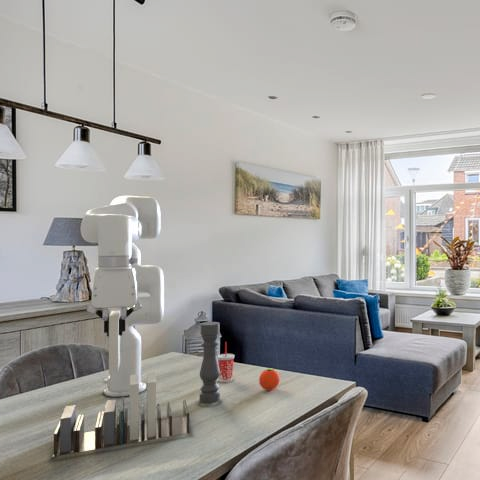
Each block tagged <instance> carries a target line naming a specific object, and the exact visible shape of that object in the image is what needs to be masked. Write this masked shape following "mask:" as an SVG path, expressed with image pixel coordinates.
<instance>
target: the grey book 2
mask: <svg viewBox="0 0 480 480" xmlns="http://www.w3.org/2000/svg"><path fill="white" fill-rule="evenodd" d="M116 423H117V399H108V400H106V401H105V406H104V445H108V444H114V440H115V431H116Z"/></svg>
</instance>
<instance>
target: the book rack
mask: <svg viewBox="0 0 480 480" xmlns="http://www.w3.org/2000/svg"><path fill="white" fill-rule="evenodd" d="M145 414H146V413H145V405H141V406H140V423H139V439H137V440H131V441H130V425H129V408H128V407H126V408H125V396H121V403H120V409H119V408H118V409H117V414H116V431H115V440H114V444H108V445H104V411H103V410H102V411H98V413H97V417H96V422H95V426H94V430H93V431H86V432H85V414H84V413H83V414H78V415H77V417H76V424H75V427H74V430H73V446H72V449H71V451H68V452H62V453H60V420H59V422H58V423H57V426H56V427H55V430H54V433H53V454H52V458H54V457H55V458H56V457H60V456H67V455H72V454H78V453H84V452H89V451H90V452H91V451H95V450H100V449H106V448H112V447H118V446H124V445H129V444H136V443H141V442H146V441H147V442H148V441H152V440H159V439H163V438H169V437H174V436H175V437H176V436H182V435H187V434H191V430H190V410H189V408H188V403H187V400H186V399H183V401H182V416H180V417H174V418H173V413H172V409H171V404H170V401H167V402H166V419H162V412H161V405H160V403H156V436H155V437H149V438H147V422H146V415H145Z"/></svg>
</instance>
